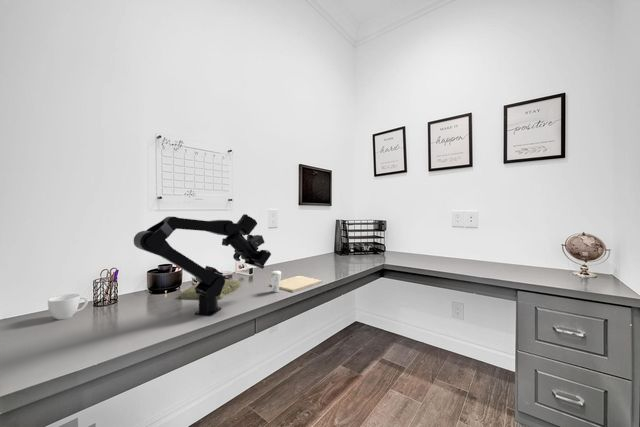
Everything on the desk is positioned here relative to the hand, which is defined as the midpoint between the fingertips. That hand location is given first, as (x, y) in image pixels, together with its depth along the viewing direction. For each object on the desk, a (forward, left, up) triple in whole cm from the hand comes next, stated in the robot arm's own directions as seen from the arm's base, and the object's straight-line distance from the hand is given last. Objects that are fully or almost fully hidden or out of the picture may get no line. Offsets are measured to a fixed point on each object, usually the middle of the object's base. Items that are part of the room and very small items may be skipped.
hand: (263, 267), depth 114 cm
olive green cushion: (+1, +24, -12) cm, 27 cm away
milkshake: (+6, -3, -12) cm, 13 cm away
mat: (+18, -9, -12) cm, 24 cm away
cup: (-33, +57, -12) cm, 67 cm away
